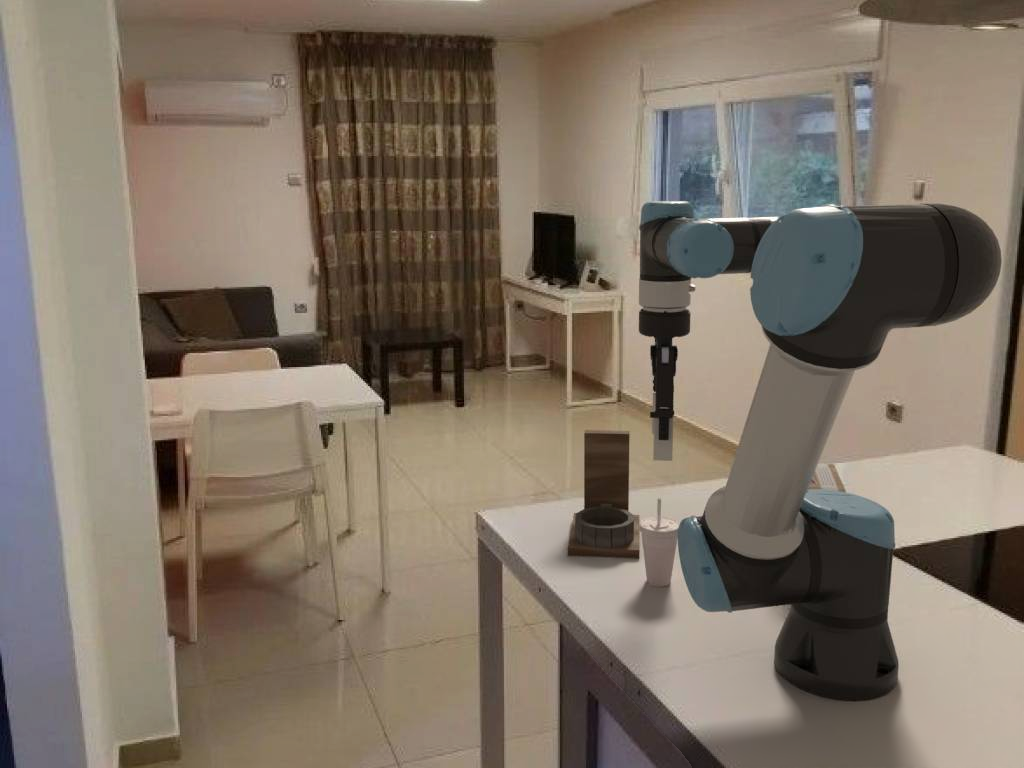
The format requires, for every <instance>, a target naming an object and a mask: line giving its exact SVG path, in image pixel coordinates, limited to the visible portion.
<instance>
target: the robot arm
mask: <svg viewBox="0 0 1024 768" xmlns="http://www.w3.org/2000/svg"><path fill="white" fill-rule="evenodd" d="M638 228H639V278H638V281H639V282H638V305H639V306H640V307H642V308H641V309H640V310H639V311H638V332H639V334H640V335H642V336H645V337H649V338H652V337H653V339H654V344H650V349H649V351H650V353H649V355H650V361H651V369H652V371H651V375H652V376H653V379H652V384H653V386H652V391H653V393H652V411H650V413H649V414H650V415H649V417H650V419H652V421H651V422H652V423H651V424H652V425H651V433H652V435H653V453H652V454H653V457H652V458H653V460H652V461H658V462H659V461H661V462H662V461H664V462H665V461H666V462H673V450H674V448H673V445H674V444H673V443H674V439H673V438H674V415H675V410H674V393H675V385H674V384H675V383H674V382H675V381H674V378H675V377H676V373H677V361H678V354H679V351H678V345H677V344H673V339H674V338H682V337H685V336H687V335H689V334H690V332H691V315H692V314H691V311H690V309H689V308H688V307H689V306H690V305H691V298H692V297H691V296H692V295H691V293H693V292H695V291H696V286H695V285H694V284H692V279H697V278H699V279H709V278H711V279H712V278H713V277H716V276H718V275H731V274H732V275H735V274H736V275H737V274H750V278H751V279H752V285H751V287H750V288H749V293H750V302H751V306H752V309H753V313H754V316H755V318H756V319H757V321H758V323H759V324H760V326H761V330H762V333H763V334H764V337H765V338H766V340H767V341H768V342H769V343H770V345H769V346H768V347H769V348H768V351H767V353H766V357H765V360H764V362H763V363H764V364H763V366H762V370H761V373H760V376H759V379H758V382H757V385H756V388H755V392H754V395H753V398H752V401H751V405H750V408H749V410H748V413H747V417H746V420H745V423H744V427H743V430H742V434H741V436H740V440H739V442H738V446H737V448H736V451H735V454H734V459H733V461H732V465H731V468H730V471H729V475H728V478H727V481H726V484H725V486H722V487H720V488H718V489H717V490H715V491H714V492H713V493H712V494H711V495H710V496H709V498H708V499H707V502H706V503H705V507H704V510H703V512H702V515H701V516H696V515H694V514H693V515H690V516H689V517H684V518H683V519H681V521H679V523H680V524H679V528H678V538H677V548H678V557H679V563H680V567H681V572H682V576H683V579H684V581H685V585H686V588H687V590H688V593H689V594H690V596H691V598H692V600H693V602H694V603H695V605H697V607H698V608H700V609H701V610H703V611H705V612H707V613H719V612H722V613H723V612H727V613H729V614H730V613H733V612H737V611H738V612H739V611H746V610H756V609H764V608H770V607H780V606H787V605H788V606H790V609H789V610H788V613H787V615H786V617H785V620H784V622H783V625H782V626H781V629H780V631H779V633H778V637H776V641H775V644H774V653H773V654H774V656H773V660H774V661H773V663H774V666H775V669H776V671H777V672H778V673H779V674H780V676H782V677H783V678H784V679H785V680H786V681H787V682H789V683H790V684H792V685H794V686H795V687H798V688H799V689H801V690H804V691H807V692H809V693H812V694H814V695H818V696H821V697H825V698H829V699H836V700H842V701H843V700H845V701H863V700H871V699H875V698H876V699H877V698H880V697H882V696H885V695H886V694H888V693H890V692H891V691H892V690H893V689H895V687H896V686H897V683H898V678H899V658H898V656H897V649H896V647H895V643H894V640H893V636H892V633H891V628H890V627H889V626H890V625H889V623H888V622H889V621H888V617H889V616H888V615H889V605H890V592H891V582H892V581H891V580H892V570H893V569H892V568H893V559H894V558H893V557H894V549H895V548H896V542H895V541H896V539H895V521H894V517H893V515H892V513H891V512H890V511H889V510H888V509H887V508H886V507H884V506H883V505H882V504H880V503H878V502H877V501H873V500H871V499H870V498H867V497H864V496H862V495H861V496H860V495H859V494H858V495H857V494H854V493H850V492H847V491H846V492H841V491H835V490H827V489H810V490H808V487H809V485H810V482H811V480H812V477H813V475H814V472H815V470H816V467H817V465H818V463H819V462H820V459H821V457H822V455H823V452H824V450H825V447H826V444H827V442H828V439H829V437H830V435H831V432H832V430H833V427H834V424H835V421H836V419H837V417H838V415H839V412H840V410H841V407H842V404H843V402H844V399H845V397H846V394H847V391H848V389H849V387H850V384H851V382H852V380H853V379H852V378H853V376H854V374H855V372H856V371H857V370H861V369H864V368H867V367H868V366H870V365H872V364H873V363H874V362H875V361H876V360H877V359H878V358H879V355H880V353H881V351H882V349H883V346H884V344H885V342H886V339H887V338H888V334H889V333H890V331H892V330H895V329H910V328H922V327H935V326H939V325H945V324H948V323H951V322H955V321H957V320H960V319H961V318H963V317H966V316H967V315H970V314H971V313H972V312H974V311H975V310H976V309H978V308H979V307H980V306H981V305H982V304H983V303H984V302H985V301H986V300H987V299H988V298H989V297H990V296H991V293H993V291H994V289H995V287H996V286H997V283H998V280H999V278H1000V276H1001V270H1002V269H1001V268H1002V251H1001V246H1000V242H999V239H998V238H997V236H996V234H995V232H994V231H993V229H992V227H990V226H989V224H988V223H987V222H986V221H985V220H983V219H982V218H981V217H980V216H979V215H978V214H975V213H974V212H971V211H970V210H967V209H965V208H963V207H959V206H956V205H950V204H945V203H944V204H942V203H919V204H918V203H916V204H915V203H913V204H910V203H907V204H885V205H884V204H881V205H880V204H879V205H878V204H877V205H850V206H849V205H848V206H846V205H843V204H836V203H835V204H832V203H827V204H822V205H819V206H816V207H805V208H803V207H802V208H796V209H793V210H790V211H789V212H787V213H786V212H785V213H784V214H783V215H781V216H780V215H779V216H759V217H758V216H757V217H755V216H754V217H749V216H748V217H714V218H713V217H712V218H710V217H709V218H695V216H694V206H693V204H692V203H691V202H690V201H686V200H655V201H647V202H645V203H644V204H642V207H641V210H640V223H639V226H638Z"/></svg>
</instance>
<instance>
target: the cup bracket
mask: <svg viewBox="0 0 1024 768" xmlns="http://www.w3.org/2000/svg"><path fill="white" fill-rule="evenodd" d="M630 431H631V430H610V429H609V430H603V429H601V430H600V429H596V430H595V429H585V430H584V434H583V435H584V436H583V439H584V442H583V443H584V446H583V447H584V448H583V449H584V453H583V455H584V457H583V458H584V459H583V461H584V463H583V465H584V466H583V468H584V475H583V476H584V477H583V479H584V480H583V481H584V482H583V484H584V485H583V487H584V489H583V493H584V494H583V495H584V496H583V497H584V499H583V500H584V501H583V504H584V505H583V507H584V508H583V509H582V510H580V511H577V512H574V513H573V516H572V523H571V527H570V532H569V539H568V542H567V543H568V544H567V556H569V557H571V556H573V557H590V558H591V557H592V558H593V557H594V558H616V559H617V558H618V559H619V558H621V559H640V556H641V555H640V547H641V546H640V545H641V542H640V538H641V537H640V533H641V531H640V530H639V527H640V515H639V514H633V513H632V512H630V511H629V502H630V500H629V497H630V495H629V493H630V435H631V434H630V433H631V432H630Z"/></svg>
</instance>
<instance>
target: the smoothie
mask: <svg viewBox="0 0 1024 768" xmlns="http://www.w3.org/2000/svg"><path fill="white" fill-rule="evenodd" d="M656 501H657V504H656V506H657V509H656V510H657V511H656V515H657V516H651V517H646V518H643V519H641V521H639V530H640V533H641V541H642V548H643V549H642V550H643V557H644V558H643V559H644V566H645V576H646V577H645V578H646V582H647V584H649V585H651V586H654V587H661V588H662V587H666V586H669V585H670V584H671V581H672V576H673V569H674V562H675V556H676V550H677V546H678V528H679V524H680V521H677V520H676V519H673V518H671V517H667V516H662V498H661V497H657V500H656Z"/></svg>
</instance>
